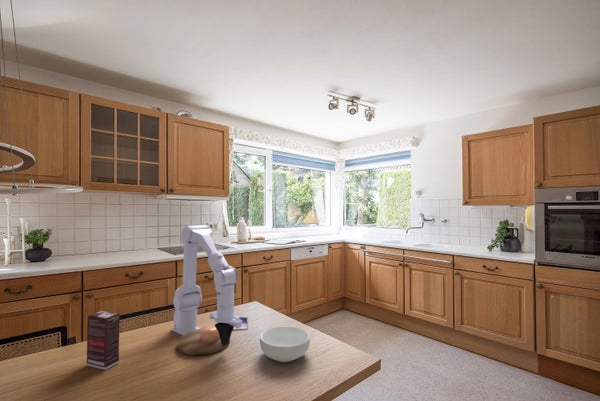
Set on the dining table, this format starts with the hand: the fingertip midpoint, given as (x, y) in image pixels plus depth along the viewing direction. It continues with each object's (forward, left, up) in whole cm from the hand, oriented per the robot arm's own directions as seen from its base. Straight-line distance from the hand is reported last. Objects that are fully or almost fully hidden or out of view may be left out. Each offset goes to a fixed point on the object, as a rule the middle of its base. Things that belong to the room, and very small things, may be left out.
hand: (225, 344), depth 100 cm
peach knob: (-8, 0, -1) cm, 8 cm away
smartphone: (-16, +21, -4) cm, 27 cm away
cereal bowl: (+18, +11, -3) cm, 21 cm away
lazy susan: (-11, 0, -3) cm, 12 cm away
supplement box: (-25, -28, -3) cm, 38 cm away
